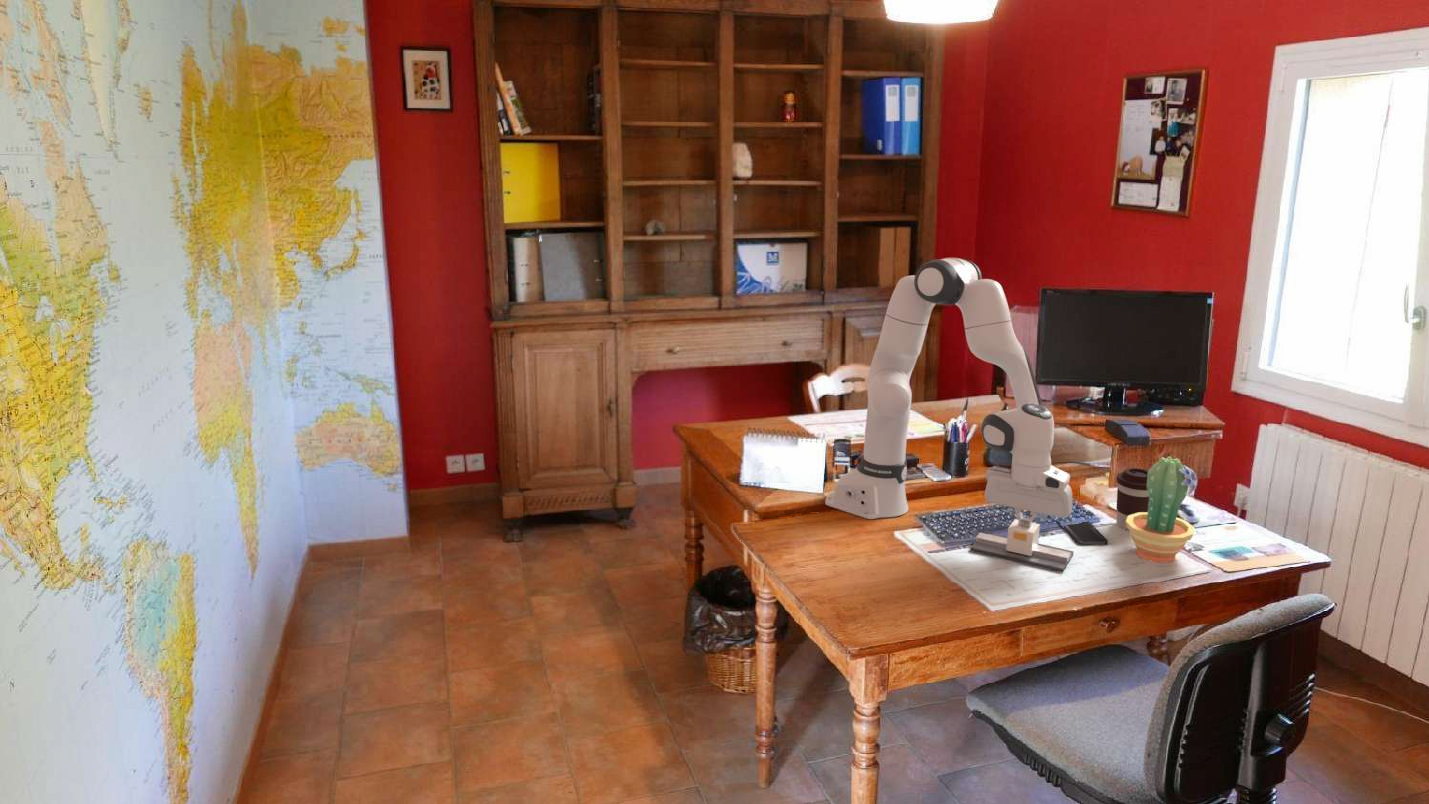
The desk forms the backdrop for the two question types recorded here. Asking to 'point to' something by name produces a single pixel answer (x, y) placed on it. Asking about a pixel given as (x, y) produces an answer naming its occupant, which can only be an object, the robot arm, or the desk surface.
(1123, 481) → the coffee cup
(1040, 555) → the rail
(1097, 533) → the phone
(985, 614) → the desk surface
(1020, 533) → the block
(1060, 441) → the desk surface
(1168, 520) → the potted cactus
